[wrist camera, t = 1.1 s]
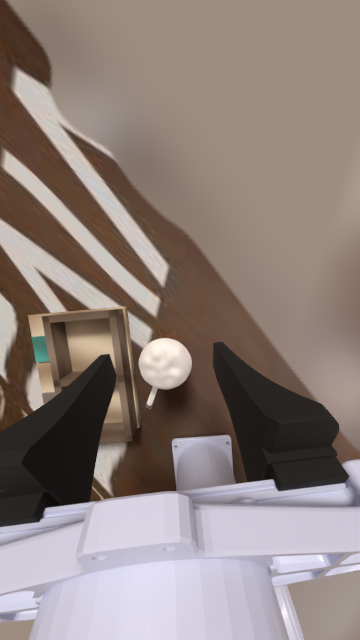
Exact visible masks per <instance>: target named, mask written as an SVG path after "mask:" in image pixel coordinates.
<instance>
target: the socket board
mask: <svg viewBox="0 0 360 640" xmlns="http://www.w3.org/2000/svg"><path fill="white" fill-rule="evenodd" d="M28 318H29V323H30V329H31V334H32V342H33V347H34V353H35V358H36V362H37V367H38V372H39V378H40V383H41V389H42V396H43V402H44V404H46V403H47V402H48V401H50V400H51V399H52V398H54V397H55V396H56V395H58V394H59V393H60V392H61V391H62V390H64V389H65V388H66V387H67V386H68V385H69V384H71V383H72V382H73V381H74V380H75V379H76V378H77V377H78V376H79V375H80V374H81V373H82V372H83V371H85V370H86V369H87V368H88V367H89V366H90V365H91V364H92V363H93V362H94V361H95V360H96V359H97V358H98V357H99V356H100V355H104V354H110V357H111V360H112V363H113V366H114V369H115V372H116V375H117V377H116V384H115V389H114V392H113V396H112V399H111V402H110V405H109V408H108V411H107V415H106V418H105V421H104V424H103V428H102V432H101V437H100V442H99V444H100V443H114V442H128V441H133V438H134V435H135V433H136V430H137V428H139V427H140V424H141V419H140V411H139V403H138V395H137V387H136V379H135V371H134V362H133V354H132V346H131V338H130V330H129V322H128V314H127V306H125V307H114V308H103V309H92V310H81V311H70V312H59V313H48V314H37V315H28Z"/></svg>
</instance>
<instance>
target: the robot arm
mask: <svg viewBox="0 0 360 640" xmlns="http://www.w3.org/2000/svg"><path fill="white" fill-rule="evenodd" d="M213 366H214V370H215V374H216V378H217V381H218V383H219V386H220V389H221V391H222V394H223V396H224V399H225V401H226V404H227V407H228V409H229V412H230V415H231V419H232V423H233V426H234V430H235V433H236V437H237V441H238V445H239V449H240V453H241V456H242V460H243V464H244V469H245V473H246V477H247V481H248V482H246V483H238V484H236V482H235V478H234V475H233V462H232V446H231V438H230V436H229V435H218V436H204V437H190V438H177V439H173V440H172V450H173V460H174V469H175V479H176V491H165V492H157V493H149V494H141V495H133V496H125V497H117V498H109V499H105V500H101V501H96V502H90V495H91V488H92V481H93V475H94V469H95V463H96V457H97V452H98V447H99V442H100V437H101V432H102V428H103V424H104V421H105V418H106V415H107V411H108V408H109V405H110V402H111V399H112V396H113V392H114V389H115V384H116V377H117V375H116V372H115V369H114V366H113V363H112V360H111V357H110V354H104V355H100V356H99V357H98V358H97V359H96V360H95V361H94V362H93V363H92V364H91V365H90V366H89V367H88V368H87V369H86V370H85V371H83V372H82V373H81V374H80V375H79V376H78V377H77V378H76V379H75V380H74V381H73V382H72V383H71V384H69V385H68V386H67V387H66V388H65V389H64V390H62V391H61V392H60V393H59V394H58V395H56V396H55V397H54V398H52V399H51V400H50V401H48V402H47V403H46V404H44V405H43V406H41V407H40V408H38V409H37V410H35V411H34V412H32V413H31V414H29V415H28V416H26V417H25V418H23V419H22V420H20V421H18V422H17V423H15V424H13V425H12V426H10V427H8V428H6V429H5V430H3V431H1V432H0V623H4V622H17V621H28V620H35V621H34V624H33V627H32V630H31V633H30V637H29V640H304V638H303V634H302V631H301V627H300V624H299V621H298V618H297V614H296V611H295V608H294V605H293V602H292V599H291V596H290V593H289V590H288V587H287V585H289V584H294V583H299V582H304V581H308V580H313V579H319V578H323V577H329V576H334V575H339V574H343V573H349V572H355V571H360V459H358V460H350V461H346V462H344V463H342V464H340V462H339V461H338V460H337V458H336V457H335V456H337V452H336V451H335V449H334V448H333V447H332V443H333V441H334V439H335V438H336V436H337V434H338V431H339V424H338V422H337V421H336V420H335V419H334V417H333V416H332V415H331V414H330V413H329V411H328V410H327V409H326V408H325V407H324V406H323V405H322V404H321V403H318V402H315V401H313V400H310V399H308V398H305V397H303V396H301V395H298V394H296V393H294V392H292V391H290V390H288V389H286V388H284V387H282V386H280V385H278V384H276V383H274V382H273V381H271V380H269V379H267V378H266V377H264V376H263V375H261V374H260V373H258V372H257V371H255V370H254V369H252V368H251V367H250V366H249V365H247V364H246V363H245V362H244V361H242V360H241V359H240V358H239V357H238V356H237V355H236V354H234V353H233V352H232V351H231V350H230V349H229V348H228V347H227V346H226V345H225V344H224V343H223V342H217V343H214V346H213ZM226 442H228V443H226ZM175 446H177V447H175Z"/></svg>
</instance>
